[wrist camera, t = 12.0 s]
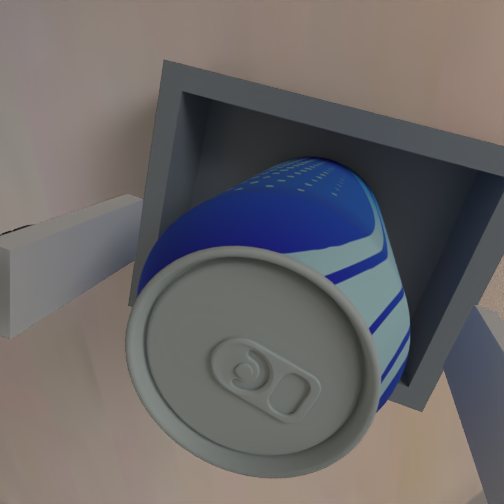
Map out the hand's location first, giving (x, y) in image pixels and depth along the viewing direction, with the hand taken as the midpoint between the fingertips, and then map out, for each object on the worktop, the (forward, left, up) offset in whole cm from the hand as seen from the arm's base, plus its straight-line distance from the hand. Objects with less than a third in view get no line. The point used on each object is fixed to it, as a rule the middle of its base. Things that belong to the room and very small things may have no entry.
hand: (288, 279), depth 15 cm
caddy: (0, 0, -11) cm, 11 cm away
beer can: (0, 0, -10) cm, 10 cm away
